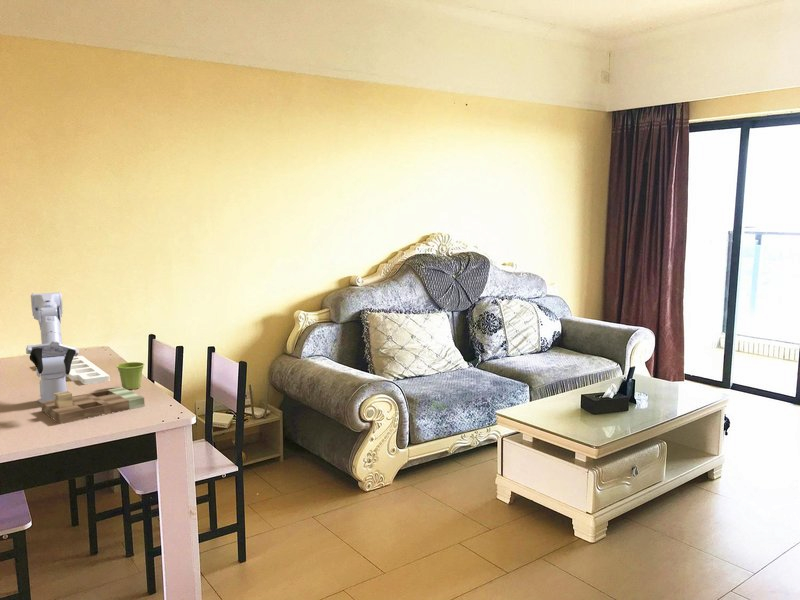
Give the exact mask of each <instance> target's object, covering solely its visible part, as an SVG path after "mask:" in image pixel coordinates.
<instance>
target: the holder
mask: <svg viewBox="0 0 800 600" xmlns="http://www.w3.org/2000/svg"><path fill="white" fill-rule="evenodd" d="M65 377H66V378H68V379H69V380H70V381H72V382H77V381H79V382H80V383H81V384H83V385H84V386H88V385H93V384H94V385H95V384H101V382H102V383H108V381H109V382H111V380H110V374H108V373H107V372H105V371H104V370H102V369H101V368H100V367H98V366H97V365H96V364H94V363H93V362H91V361H90V360H88V359H87V358H86V357H84V356H83V355H77V357H76V356H74V357H73V360H72V363H71V368H70V373H69V374H68V375H66V376H65Z"/></svg>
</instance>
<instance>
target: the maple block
mask: <svg viewBox="0 0 800 600" xmlns="http://www.w3.org/2000/svg"><path fill="white" fill-rule="evenodd" d="M72 396H73V393H72V392H71V391H69V390H66V391H64V392H58V393H54V399H55V406H57V407H58V408H62V407H68V406H73V402H72Z"/></svg>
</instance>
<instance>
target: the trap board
mask: <svg viewBox="0 0 800 600" xmlns="http://www.w3.org/2000/svg"><path fill="white" fill-rule="evenodd" d="M72 402H73V406H68V407H62V408H58V407H57V406H55V400H51V401H45V402H41V403H40V404H41V406H40V407H41V412H42V411H43V412H42V413H44V412H45V413H46V414H45V413H44V414H45V415H47V414H48V415H49V416H50V417H49V416H48V415H47V416H48V417H49V418H51V417H52V418H54V419H55V420H56V421H55V420H54V419H53V420H54V421H55V422H57V421H58V422H59V424H60V423H63V424H66V423H65V422H67V423H70V421H72V422H75V421H74V420H77V421H80V420H79V419H82V420H85V419H84V418H86V419H89V418H88V417H91V418H95V417H94V416H96V417H99V415H101V416H103V415H102V414H105V415H109V414H108V413H110V414H113V413H112V412H115V413H118V411H120V412H123V410H125V411H128V409H129V410H134V409H138V408H137V407H139V408H143V407H142V406H144V407H145V406H146V405H145V396H142V395H139V394H138V393H136V392H133V391H131V390H130V389H125V388H123V387H122V386H121V387H115V388H112V389H106V390H100V391H95V392H89V393H84V394H80V395H79V394H77V395H72ZM133 408H134V409H133ZM52 418H51V419H52ZM58 422H57V423H58Z"/></svg>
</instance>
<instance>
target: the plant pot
mask: <svg viewBox="0 0 800 600" xmlns="http://www.w3.org/2000/svg"><path fill="white" fill-rule="evenodd" d="M144 366H145V363H144V362H138V361H131V362H123V363H122V362H121V363H120V364H117V365H116V368H117V369H118V372H119V376H120V381H121V387H123V388H125V389H127V390H130V391H131V390H133V389H134V390H138V389H140V388H141V387H142V385H141V384H142V376H143V375H142V374H143V369H144ZM137 388H138V389H137ZM134 390H133V391H134Z"/></svg>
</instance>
